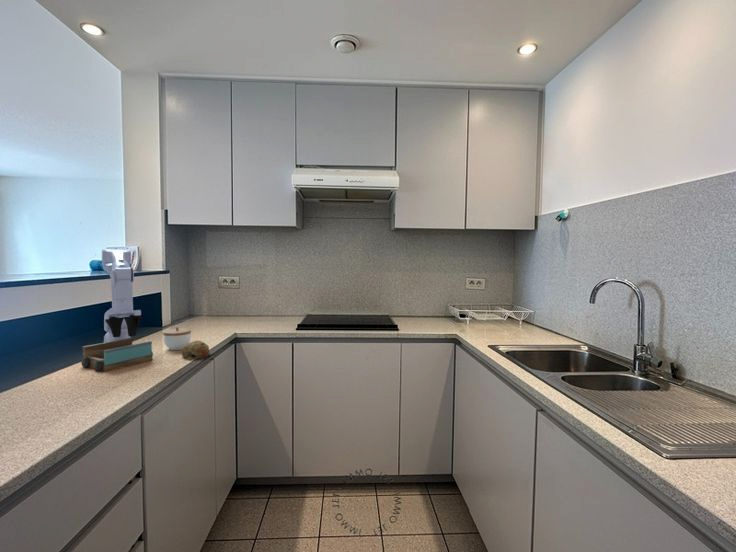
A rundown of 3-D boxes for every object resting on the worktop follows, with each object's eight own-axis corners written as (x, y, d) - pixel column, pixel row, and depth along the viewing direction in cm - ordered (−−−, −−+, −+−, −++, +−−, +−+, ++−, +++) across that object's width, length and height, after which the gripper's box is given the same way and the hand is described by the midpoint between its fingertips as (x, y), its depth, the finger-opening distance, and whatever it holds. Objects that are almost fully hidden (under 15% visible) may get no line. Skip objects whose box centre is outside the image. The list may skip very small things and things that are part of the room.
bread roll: (180, 367, 133) (177, 351, 130) (186, 350, 142) (183, 335, 138) (207, 366, 136) (206, 350, 132) (211, 349, 145) (210, 334, 141)
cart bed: (79, 366, 121) (79, 347, 121) (132, 354, 137) (132, 337, 137) (101, 372, 115) (101, 352, 115) (154, 359, 131) (154, 341, 131)
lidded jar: (192, 344, 155) (192, 324, 155) (189, 350, 145) (189, 328, 145) (165, 346, 152) (165, 325, 151) (160, 352, 141) (160, 330, 141)
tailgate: (103, 364, 117) (103, 350, 116) (149, 354, 131) (149, 341, 130) (106, 365, 116) (105, 350, 116) (151, 354, 130) (151, 341, 130)
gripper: (97, 301, 124) (98, 338, 123) (127, 298, 120) (128, 336, 119) (117, 301, 131) (118, 336, 130) (145, 297, 127) (147, 334, 126)
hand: (124, 336), depth 125 cm, fingers open, 7 cm apart
